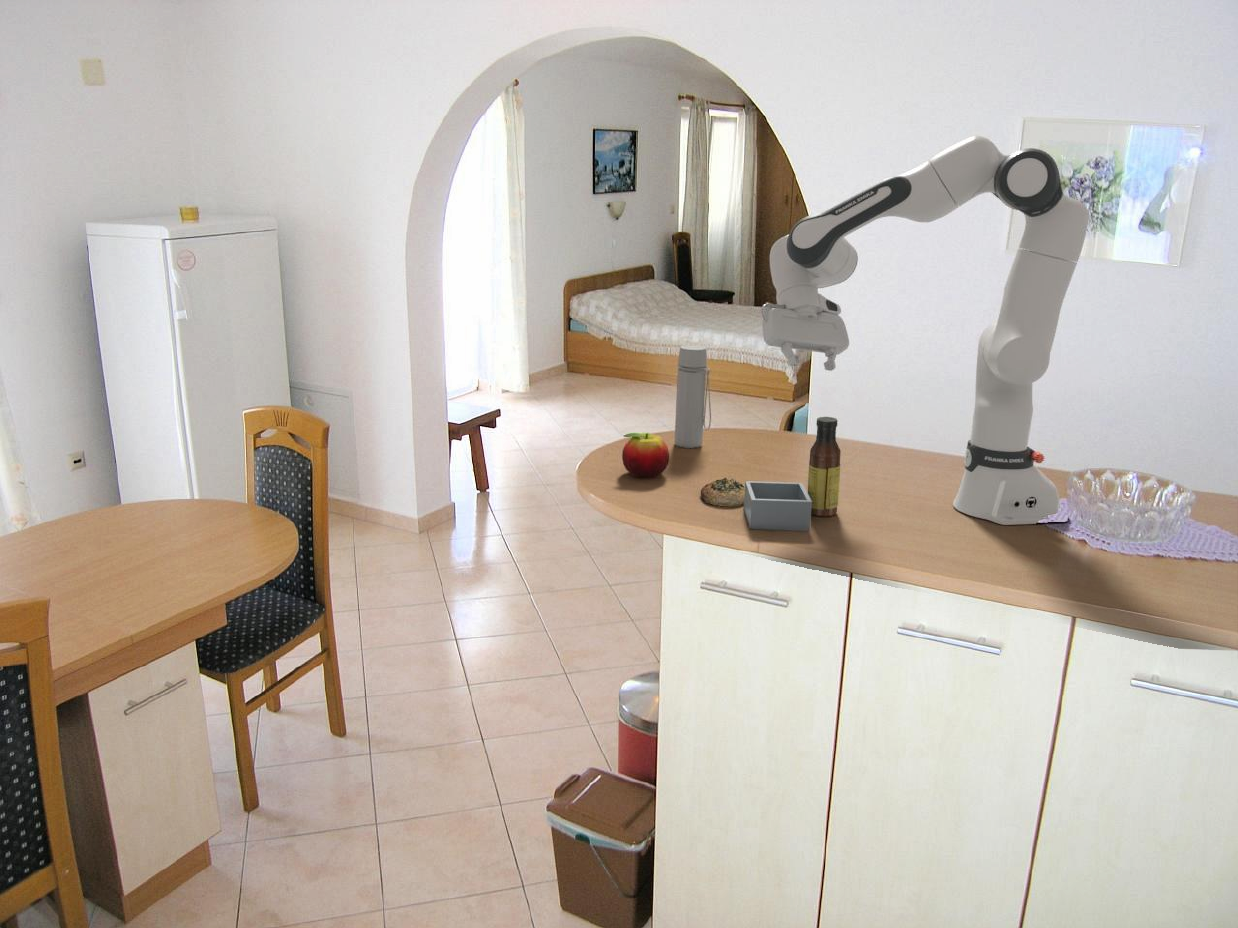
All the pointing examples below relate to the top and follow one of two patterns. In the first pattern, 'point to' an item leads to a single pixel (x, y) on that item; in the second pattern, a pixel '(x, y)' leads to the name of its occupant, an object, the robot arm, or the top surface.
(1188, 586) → the top surface
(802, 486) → the bin
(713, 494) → the bread roll
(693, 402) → the water bottle
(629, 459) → the fruit
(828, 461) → the sauce bottle
